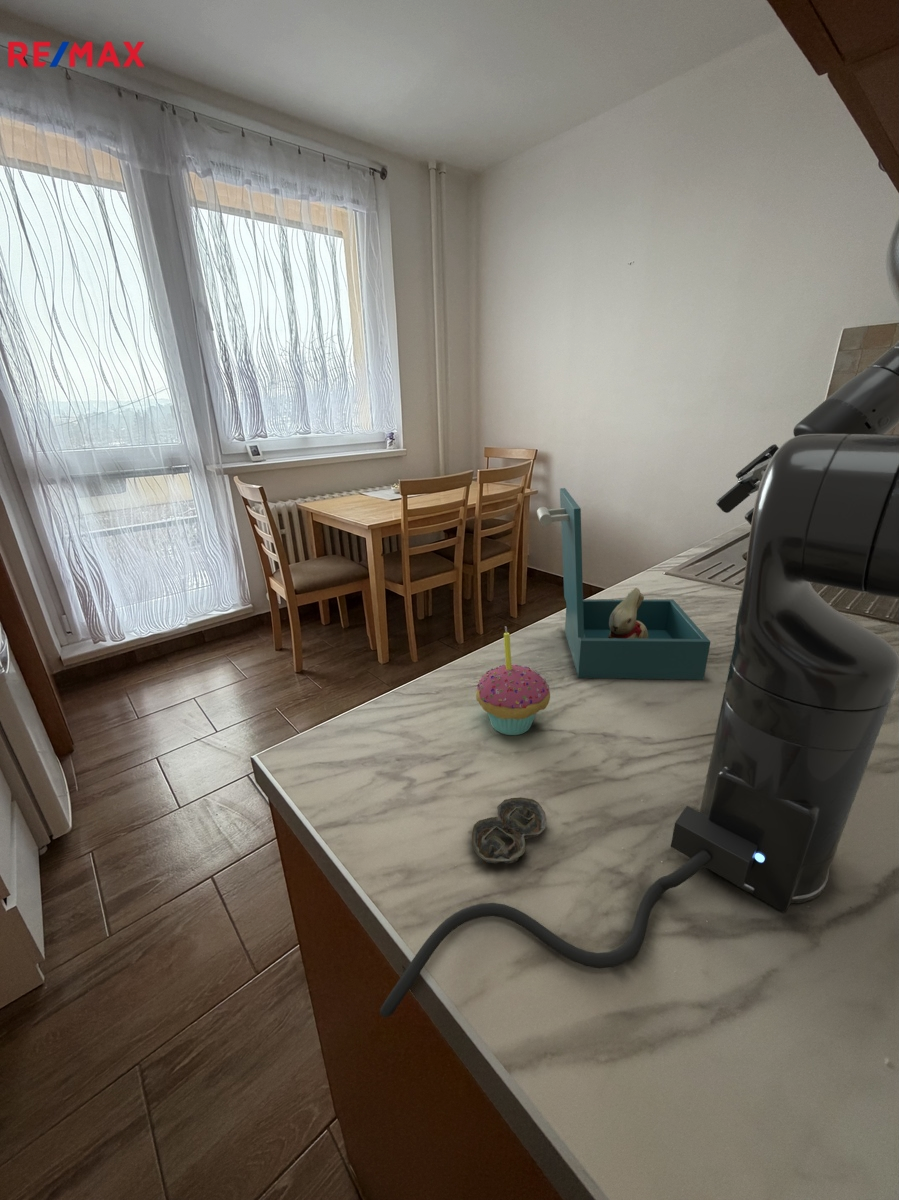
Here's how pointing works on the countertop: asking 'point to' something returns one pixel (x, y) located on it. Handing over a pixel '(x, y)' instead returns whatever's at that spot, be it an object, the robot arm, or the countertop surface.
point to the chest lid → (569, 553)
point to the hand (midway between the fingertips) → (734, 515)
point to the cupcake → (512, 695)
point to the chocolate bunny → (628, 618)
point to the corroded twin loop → (508, 830)
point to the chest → (638, 643)
